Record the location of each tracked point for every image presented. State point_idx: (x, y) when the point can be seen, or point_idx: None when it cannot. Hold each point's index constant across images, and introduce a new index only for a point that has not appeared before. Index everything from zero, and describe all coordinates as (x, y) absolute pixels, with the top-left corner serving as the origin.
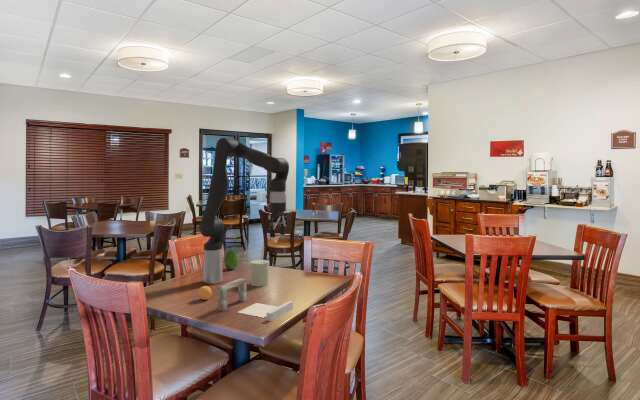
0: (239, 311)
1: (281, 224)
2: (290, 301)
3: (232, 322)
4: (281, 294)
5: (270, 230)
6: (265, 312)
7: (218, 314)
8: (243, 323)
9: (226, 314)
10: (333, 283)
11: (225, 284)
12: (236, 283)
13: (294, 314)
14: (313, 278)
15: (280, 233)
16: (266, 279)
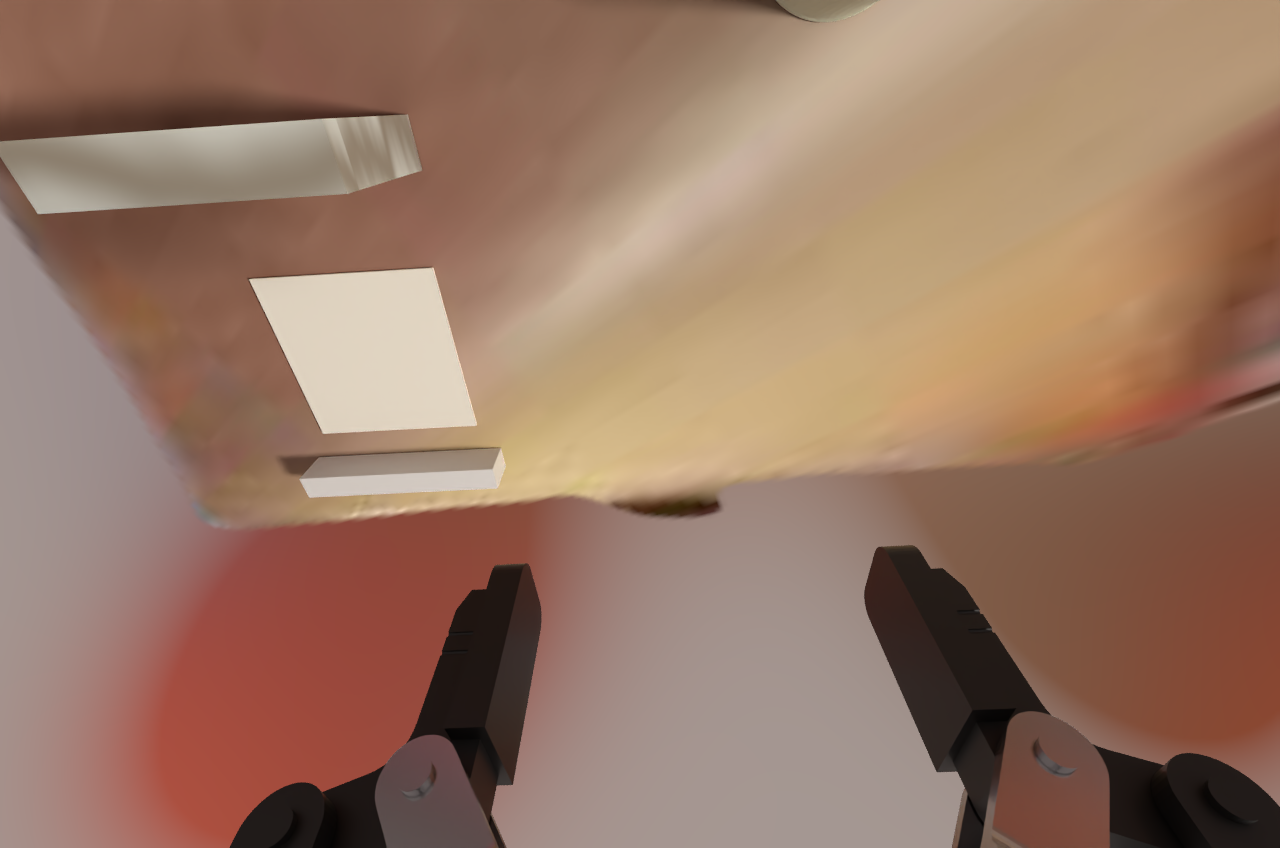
0: (265, 284)
1: (1036, 807)
2: (492, 479)
3: (167, 353)
4: (661, 291)
5: (423, 723)
6: (370, 403)
7: None
8: (211, 401)
9: (182, 245)
10: (1000, 429)
11: (84, 149)
12: (206, 202)
13: (457, 503)
14: (1120, 261)
15: (889, 562)
16: (833, 9)
